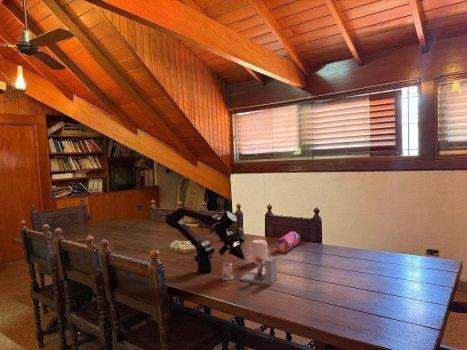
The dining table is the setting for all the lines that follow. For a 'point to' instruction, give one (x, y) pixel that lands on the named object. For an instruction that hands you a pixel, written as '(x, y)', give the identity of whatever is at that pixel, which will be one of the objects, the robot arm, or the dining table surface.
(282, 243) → the pencil case
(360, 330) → the dining table surface
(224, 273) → the knob
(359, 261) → the dining table surface
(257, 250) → the beige cylinder
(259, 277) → the ball-topped lever
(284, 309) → the dining table surface
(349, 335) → the dining table surface
